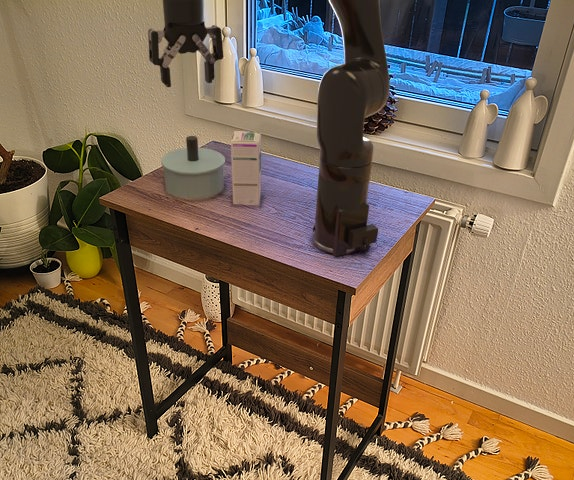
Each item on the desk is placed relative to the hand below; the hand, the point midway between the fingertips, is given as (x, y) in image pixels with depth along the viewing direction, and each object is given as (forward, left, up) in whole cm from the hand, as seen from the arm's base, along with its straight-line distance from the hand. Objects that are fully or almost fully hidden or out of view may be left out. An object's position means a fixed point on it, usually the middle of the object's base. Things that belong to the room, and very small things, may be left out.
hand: (188, 84), depth 116 cm
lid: (0, 0, -16) cm, 16 cm away
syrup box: (-10, -8, -23) cm, 26 cm away
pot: (0, 0, -23) cm, 23 cm away
